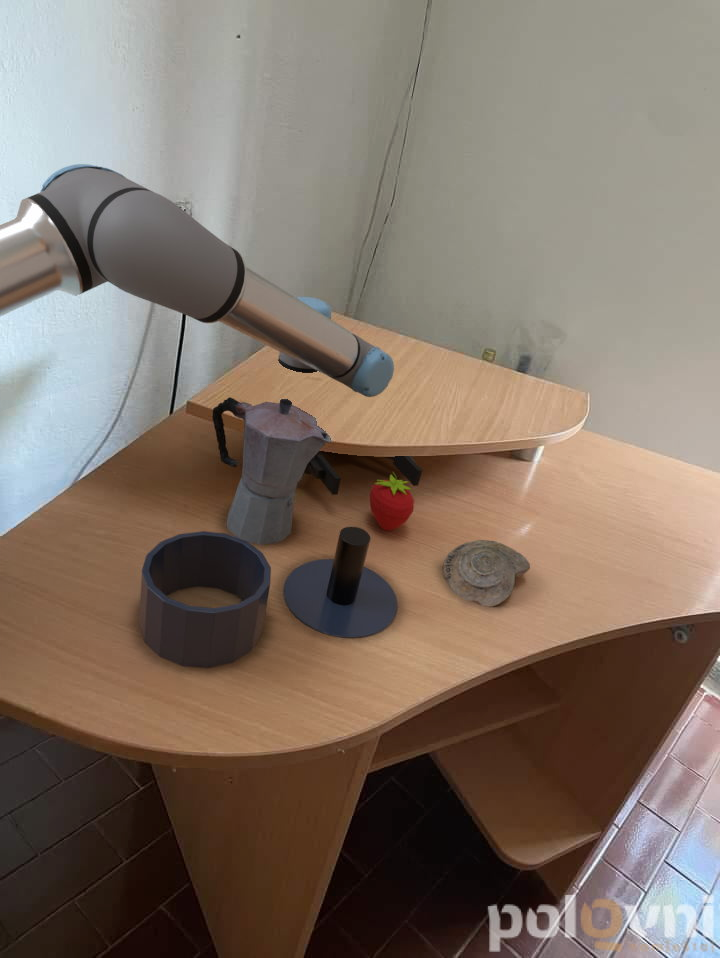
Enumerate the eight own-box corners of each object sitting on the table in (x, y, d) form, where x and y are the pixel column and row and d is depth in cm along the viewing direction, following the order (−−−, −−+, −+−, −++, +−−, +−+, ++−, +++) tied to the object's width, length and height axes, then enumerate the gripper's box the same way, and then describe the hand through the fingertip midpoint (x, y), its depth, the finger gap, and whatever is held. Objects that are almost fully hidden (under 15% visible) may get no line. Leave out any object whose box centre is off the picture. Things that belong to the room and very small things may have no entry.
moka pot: (302, 565, 90) (329, 429, 79) (187, 536, 90) (199, 396, 80) (317, 525, 98) (343, 397, 88) (212, 498, 98) (226, 368, 88)
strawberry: (376, 549, 96) (391, 489, 91) (354, 518, 101) (368, 459, 96) (413, 545, 98) (430, 486, 93) (390, 514, 104) (405, 457, 99)
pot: (156, 686, 69) (160, 623, 65) (128, 600, 78) (130, 539, 74) (278, 658, 75) (289, 599, 71) (239, 582, 84) (246, 525, 80)
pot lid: (310, 655, 76) (325, 584, 71) (265, 575, 86) (276, 507, 81) (416, 631, 83) (437, 564, 78) (363, 559, 93) (379, 496, 88)
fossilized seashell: (430, 550, 95) (462, 517, 91) (484, 565, 101) (516, 535, 97) (456, 614, 88) (492, 581, 84) (513, 627, 93) (549, 596, 90)
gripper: (378, 429, 123) (442, 495, 108) (244, 438, 111) (295, 513, 96) (387, 391, 119) (455, 453, 104) (249, 395, 107) (303, 466, 92)
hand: (379, 482), depth 100 cm, fingers open, 13 cm apart
